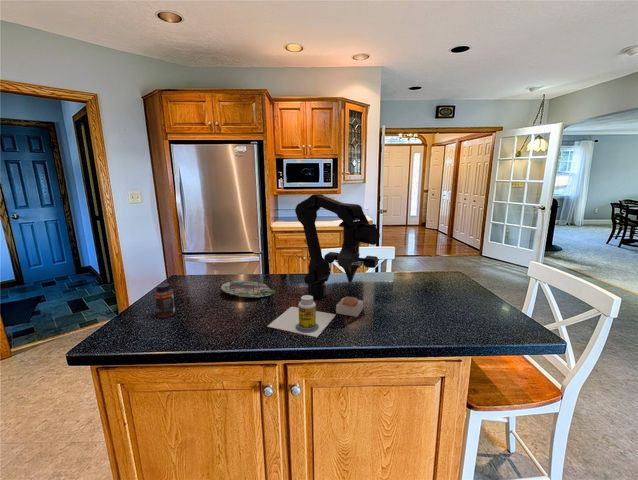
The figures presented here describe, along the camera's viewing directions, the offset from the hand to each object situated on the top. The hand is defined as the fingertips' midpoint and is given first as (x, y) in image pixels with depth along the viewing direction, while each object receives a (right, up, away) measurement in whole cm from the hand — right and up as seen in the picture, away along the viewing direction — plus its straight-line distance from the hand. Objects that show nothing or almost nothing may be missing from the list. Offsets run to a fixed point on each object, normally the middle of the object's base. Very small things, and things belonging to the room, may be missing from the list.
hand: (350, 282), depth 110 cm
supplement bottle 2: (-15, -13, -10) cm, 23 cm away
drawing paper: (-17, -12, -6) cm, 22 cm away
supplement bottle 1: (-67, -12, -1) cm, 68 cm away
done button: (0, -9, +2) cm, 9 cm away
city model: (-42, -8, +21) cm, 47 cm away
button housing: (0, -11, +2) cm, 11 cm away
